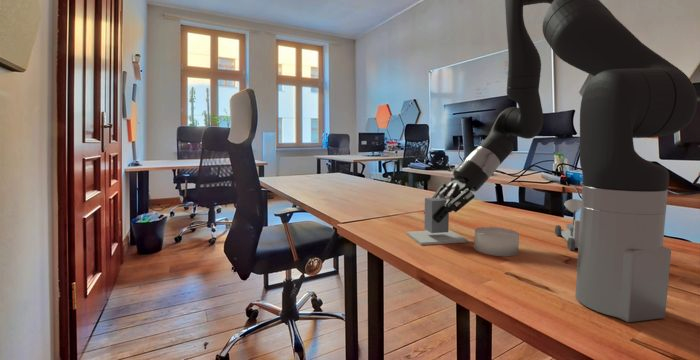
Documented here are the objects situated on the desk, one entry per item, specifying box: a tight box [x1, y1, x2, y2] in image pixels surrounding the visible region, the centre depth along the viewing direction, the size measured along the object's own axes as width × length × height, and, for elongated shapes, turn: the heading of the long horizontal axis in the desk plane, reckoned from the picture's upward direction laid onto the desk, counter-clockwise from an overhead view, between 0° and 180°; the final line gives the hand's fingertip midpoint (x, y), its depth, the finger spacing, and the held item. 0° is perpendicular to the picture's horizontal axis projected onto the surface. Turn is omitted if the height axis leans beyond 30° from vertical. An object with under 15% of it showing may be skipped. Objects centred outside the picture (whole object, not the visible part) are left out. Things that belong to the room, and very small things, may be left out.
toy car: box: [554, 198, 581, 252], centre depth 78 cm, size 18×10×12 cm
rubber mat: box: [405, 228, 469, 246], centre depth 83 cm, size 10×12×1 cm
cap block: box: [423, 197, 450, 233], centre depth 83 cm, size 4×4×8 cm
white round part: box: [473, 226, 520, 257], centre depth 74 cm, size 9×9×4 cm
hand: (431, 217), depth 83 cm, fingers closed on cap block, 4 cm apart
